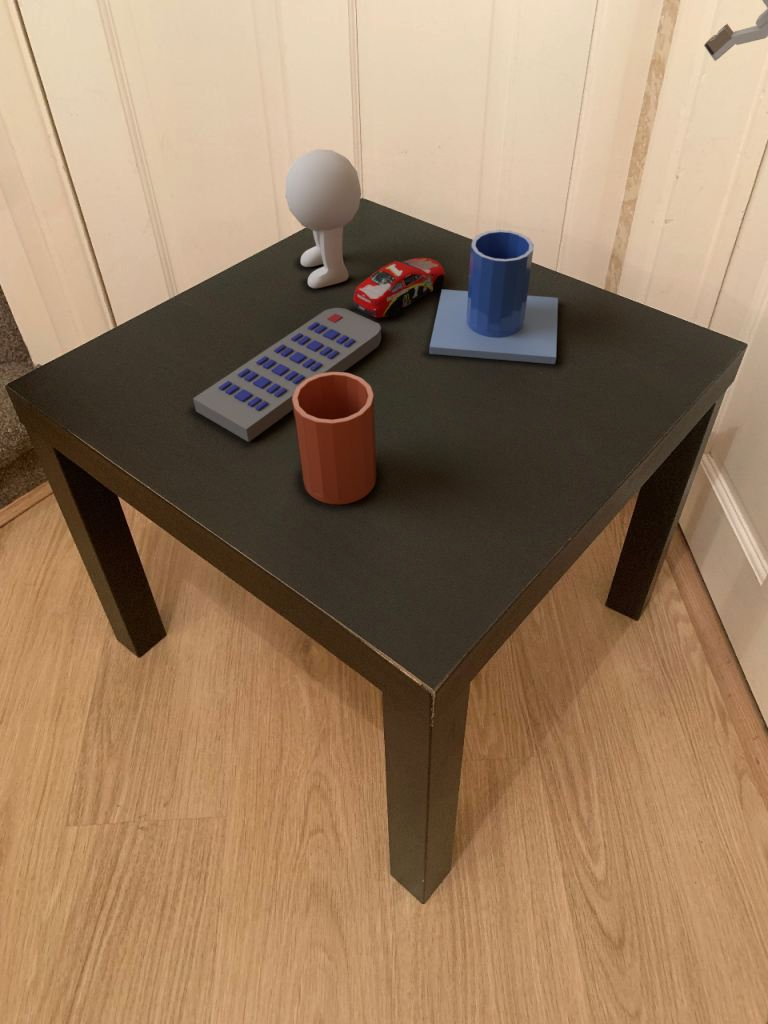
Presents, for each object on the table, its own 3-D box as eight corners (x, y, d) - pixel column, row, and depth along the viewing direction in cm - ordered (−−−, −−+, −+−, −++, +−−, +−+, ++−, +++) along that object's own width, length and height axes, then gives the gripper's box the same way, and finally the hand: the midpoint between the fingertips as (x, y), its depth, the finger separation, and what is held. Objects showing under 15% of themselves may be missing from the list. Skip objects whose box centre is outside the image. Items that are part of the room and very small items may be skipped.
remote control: (196, 412, 83) (191, 396, 82) (337, 315, 95) (336, 299, 93) (248, 443, 80) (245, 427, 78) (389, 338, 91) (388, 322, 90)
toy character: (288, 258, 104) (275, 141, 93) (355, 248, 106) (350, 132, 95) (300, 294, 98) (287, 174, 87) (371, 283, 100) (367, 164, 89)
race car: (422, 268, 102) (423, 239, 99) (453, 284, 99) (455, 254, 96) (346, 308, 96) (344, 278, 93) (376, 326, 93) (376, 296, 90)
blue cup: (525, 307, 94) (535, 232, 87) (521, 340, 89) (531, 263, 82) (469, 303, 94) (474, 228, 87) (463, 335, 90) (468, 258, 83)
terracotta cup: (381, 457, 78) (379, 375, 71) (369, 508, 73) (365, 426, 66) (312, 450, 79) (303, 368, 71) (295, 500, 74) (283, 418, 67)
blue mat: (557, 304, 96) (558, 297, 95) (555, 364, 88) (556, 357, 87) (441, 296, 97) (441, 289, 97) (429, 354, 89) (429, 346, 89)
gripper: (760, -340, 46) (575, -116, 56) (948, -39, 50) (746, 119, 60) (770, -328, 50) (597, -122, 60) (943, -52, 54) (755, 98, 64)
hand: (673, 0), depth 60 cm, fingers open, 8 cm apart
